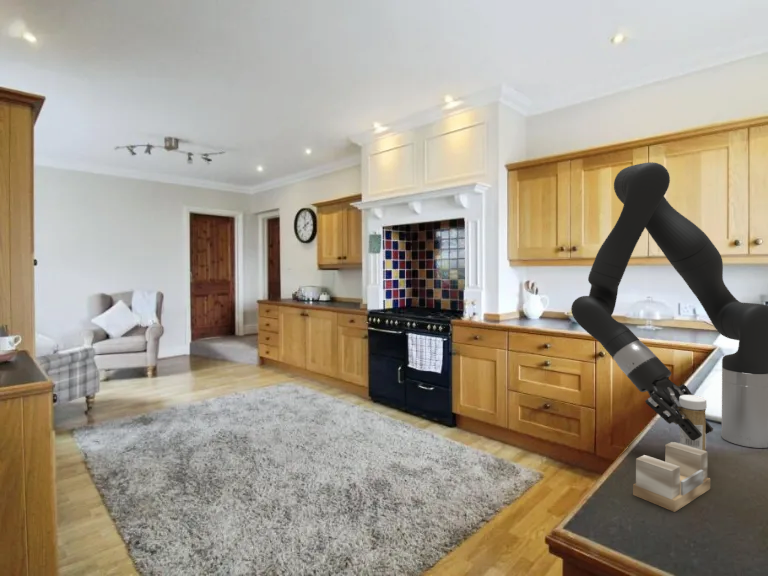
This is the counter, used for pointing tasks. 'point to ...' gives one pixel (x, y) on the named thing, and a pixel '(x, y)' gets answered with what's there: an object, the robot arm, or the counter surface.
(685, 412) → the sprinkles bottle
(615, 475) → the counter surface
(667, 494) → the napkin holder
